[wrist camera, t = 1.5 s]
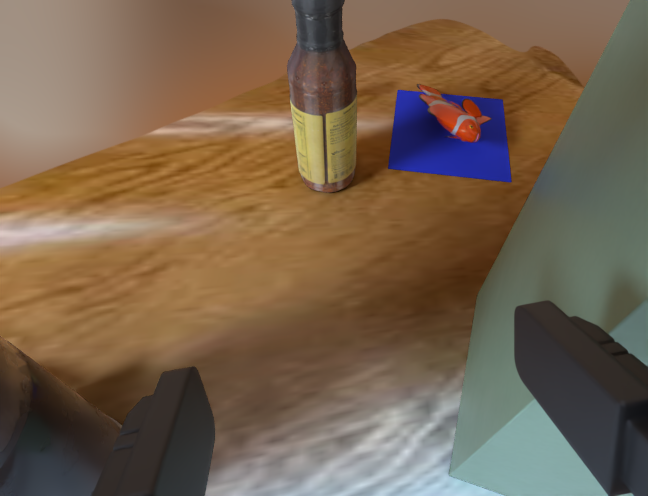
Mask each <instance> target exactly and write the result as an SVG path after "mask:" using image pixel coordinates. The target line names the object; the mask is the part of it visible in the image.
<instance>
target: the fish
mask: <svg viewBox="0 0 648 496" xmlns="http://www.w3.org/2000/svg"><path fill="white" fill-rule="evenodd" d="M417 87H418V88H419V89H420V90H421V91H423V92H420V93H419V94H418V98H419V99H420V100H421V101H422V102H423V103H424V104H425V105H427V106H428V108H427V109H426V111H427V113H428V114H429V115H431V116H433V117H434V118H435V119H436V121H437V122H438V123H439V124H440V125H441V126H442V127H443V128H444V129H445V130H446V131H447V132H448V133H450V134H451V135H445V136H444V138H445V139H451V140H459V141H461V142H463V143H470V144H474V143H477V142H478V141H479V140H480V139H481V138H482V128H481V125H483V124H486V123H488V122H490V121H491V120H492V119H493V118H492V117H490V116H488V115H483V113H482V111H481V109H480V108H479V106H478V105H477V104H476V103H475V102H474V101H473V100H472V99H470V98H464V99H463V100H462V101H461V105H459V104H458V103H456V102H454V101H451V100H447V99H445V98H443V96H442V94H441V93H440V92H439V91H438V90H436V89H434V88H431V87H428V86H425V85H420V84H417Z"/></svg>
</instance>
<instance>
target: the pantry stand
mask: <svg viewBox="0 0 648 496" xmlns="http://www.w3.org/2000/svg"><path fill="white" fill-rule="evenodd" d="M546 300H549V301H551V302H553V303H554V304H555V305H556V306H557V307H558V308H559V309H561V310H562V311H563V312H564V313H565V314H566V315H567V316H569V317H572V316H577V317H580V318H582V319H584V320H586V321H589V322H591V323H593V324H595V325H598V326H599V327H600V328H601V329H603V330H604V331H605V332H606V333H608V334H609V335H610V336H611V337H612V338H614V341H615V342H618V343H620V344H621V345H622V346H623V347H624V348H626V349H627V350H628V353H629V354H630V353H632V354H633V355H634V356H635V357H637V358H638V359H639V360H640V361H641V362H643V363H644V364H645V365H646V366H647V367H648V0H630V2H629V3H628V5H627V7H626V9H625V11H624V13H623V15H622V17H621V19H620V21H619V23H618V25H617V27H616V28H615V30H614V32H613V34H612V36H611V38H610V40H609V42H608V44H607V46H606V48H605V50H604V52H603V54H602V55H601V57H600V59H599V61H598V63H597V65H596V67H595V69H594V71H593V73H592V75H591V77H590V79H589V81H588V82H587V84H586V87H585V88H584V90H583V92H582V94H581V96H580V98H579V100H578V102H577V104H576V106H575V108H574V110H573V111H572V113H571V115H570V117H569V119H568V121H567V123H566V125H565V127H564V129H563V131H562V133H561V135H560V137H559V138H558V140H557V142H556V144H555V146H554V148H553V150H552V152H551V154H550V156H549V158H548V160H547V162H546V164H545V165H544V167H543V169H542V171H541V173H540V175H539V177H538V179H537V181H536V183H535V185H534V187H533V189H532V191H531V192H530V194H529V196H528V198H527V200H526V202H525V204H524V206H523V208H522V210H521V212H520V214H519V216H518V218H517V220H516V221H515V223H514V225H513V227H512V229H511V231H510V233H509V235H508V237H507V239H506V241H505V243H504V245H503V247H502V248H501V250H500V252H499V254H498V256H497V258H496V260H495V262H494V264H493V266H492V268H491V270H490V272H489V274H488V275H487V277H486V279H485V281H484V283H483V285H482V287H481V289H480V291H479V293H478V295H477V299H476V306H475V312H474V318H473V325H472V331H471V338H470V344H469V350H468V357H467V363H466V369H465V376H464V382H463V389H462V395H461V401H460V408H459V414H458V420H457V427H456V433H455V439H454V446H453V452H452V459H451V465H450V471H449V476H451V477H454V478H457V479H460V480H462V481H465V482H468V483H471V484H474V485H477V486H479V487H482V488H485V489H488V490H491V491H494V492H497V493H499V494H502V495H505V496H608V494H607V493H606V492H605V490H604V489H603V488H602V486H601V485H600V484H599V483H598V481H597V480H596V479H595V477H594V476H593V475H592V473H591V472H590V471H589V469H588V468H587V467H586V465H585V464H584V463H583V461H582V460H581V459H580V457H579V456H578V455H577V453H576V452H575V451H574V449H573V448H572V447H571V446H570V444H569V443H568V442H567V440H566V439H565V438H564V436H563V435H562V434H561V432H560V431H559V430H558V428H557V427H556V426H555V424H554V423H553V422H552V420H551V419H550V418H549V416H548V415H547V414H546V412H545V411H544V410H543V409H542V407H541V406H540V405H539V403H538V402H537V401H536V399H535V398H534V397H533V395H532V394H531V393H530V391H529V390H528V389H527V387H526V386H525V385H524V383H523V382H522V380H521V379H520V376H519V374H518V372H517V369H516V365H515V359H514V312H515V308H516V307H517V306H519V305H525V304H530V303H535V302H540V301H546ZM618 496H634V495H633V494H632V493H628V494H623V495H618Z"/></svg>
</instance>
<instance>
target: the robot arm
mask: <svg viewBox="0 0 648 496" xmlns="http://www.w3.org/2000/svg"><path fill="white" fill-rule="evenodd" d="M514 359H515V365H516V369H517V372H518V374H519V376H520V379H521V380H522V382H523V383H524V385H525V386H526V387H527V389H528V390H529V391H530V393H531V394H532V395H533V397H534V398H535V399H536V401H537V402H538V403H539V405H540V406H541V407H542V409H543V410H544V411H545V412H546V414H547V415H548V416H549V418H550V419H551V420H552V422H553V423H554V424H555V426H556V427H557V428H558V430H559V431H560V432H561V434H562V435H563V436H564V438H565V439H566V440H567V442H568V443H569V444H570V446H571V447H572V448H573V449H574V451H575V452H576V453H577V455H578V456H579V457H580V459H581V460H582V461H583V463H584V464H585V465H586V467H587V468H588V469H589V471H590V472H591V473H592V475H593V476H594V477H595V479H596V480H597V481H598V483H599V484H600V485H601V486H602V488H603V489H604V490H605V492H606V493H607V494H608V496H618V495H623V494H628V493H632V494H633V495H634V496H648V367H647V366H646V365H645V364H644V363H643V362H641V361H640V360H639V359H638V358H637V357H635V356H634V355H633V354H632V353H630V354H629V353H628V350H627V349H626V348H624V347H623V346H622V345H621V344H620V343H618V342H615V341H614V338H612V337H611V336H610V335H609V334H608V333H606V332H605V331H604V330H603V329H601V328H600V327H599V326H598V325H595V324H593V323H591V322H589V321H586V320H584V319H582V318H580V317H577V316H572V317H569V316H567V315H566V314H565V313H564V312H563V311H562V310H561V309H559V308H558V307H557V306H556V305H555V304H554V303H553V302H551V301H549V300H546V301H540V302H535V303H530V304H525V305H519V306H517V307H516V308H515V312H514ZM214 441H215V423H214V417H213V414H212V410H211V407H210V404H209V401H208V398H207V396H206V393H205V390H204V387H203V384H202V381H201V378H200V375H199V372H198V370H197V368H196V367H194V366H192V367H187V368H182V369H176V370H171V371H166V372H163V373H162V374H161V376H160V379H159V381H158V384H157V387H156V389H155V392H154V394H153V395H151V396H146V397H143V398H142V399H141V400H140V401H139V402H138V403H137V405H136V406H135V407H134V408H133V409H132V410H131V411H130V412H129V413H128V415H127V417H126V419H125V421H124V424H123V426H122V425H121V424H120V423H118V422H117V421H116V420H114V419H113V418H111V417H109V416H107V415H105V414H104V413H103V412H101V411H100V410H99V409H98V408H96V407H95V406H94V405H92V404H91V403H90V402H88V401H87V400H86V399H84V398H83V397H82V396H80V395H79V394H78V393H76V392H75V391H74V390H72V389H71V388H70V387H68V386H67V385H66V384H64V383H63V382H62V381H60V380H59V379H58V378H56V377H55V376H54V375H52V374H51V373H50V372H48V371H47V370H46V369H44V368H43V367H42V366H40V365H39V364H38V363H36V362H35V361H34V360H32V359H31V358H30V357H28V356H27V355H26V354H24V353H23V352H22V351H20V350H19V349H18V348H16V347H15V346H14V345H12V344H11V343H10V342H8V341H6V340H5V339H4V338H2V337H1V336H0V496H205V491H206V485H207V480H208V474H209V469H210V464H211V458H212V453H213V447H214Z"/></svg>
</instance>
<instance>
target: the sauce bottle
mask: <svg viewBox="0 0 648 496" xmlns="http://www.w3.org/2000/svg"><path fill="white" fill-rule="evenodd" d="M344 1H345V0H292V5H293V7H294V9H295V14H296V26H297V44H296V46H295V48H294V50H293V52H292V55H291V57H290V59H289V60H288V65H287V71H288V79H289V86H290V103H291V111H292V119H293V127H294V135H295V143H296V152H297V160H298V168H299V171H300V174H301V177H302V179H303V181H304V182H305V184H306V185H307V186H308V187H309V188H310V189H313V190H316V191H321V192H326V193H327V192H328V193H331V192H337V191H339V190H341V189H344V188H345V187H347V186H348V185H349V184H350V183H351V182H352V179H353V177H354V174H355V167H356V137H357V89H356V64H355V62H354V60H353V59H352V57H351V54H350V52H349V50H348V48H347V46H346V44H345V41H344V40H343V31H342V6H343V4H344Z"/></svg>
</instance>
